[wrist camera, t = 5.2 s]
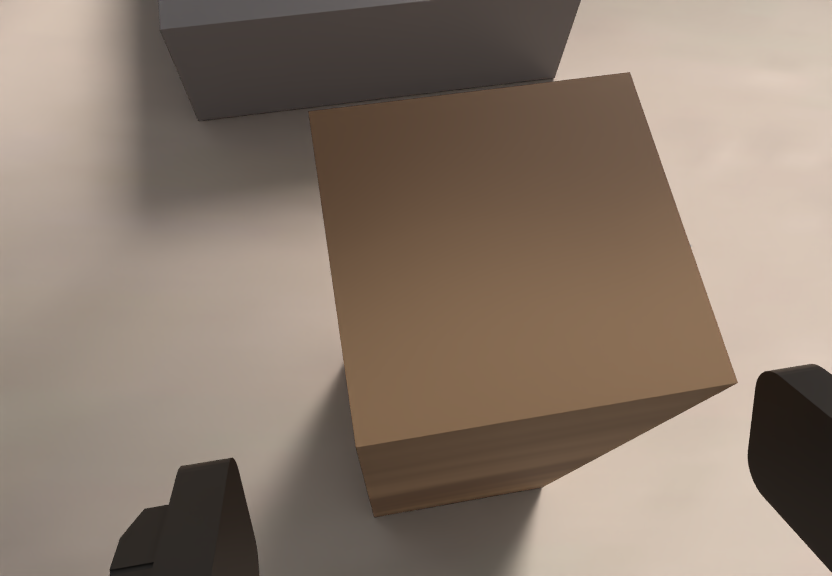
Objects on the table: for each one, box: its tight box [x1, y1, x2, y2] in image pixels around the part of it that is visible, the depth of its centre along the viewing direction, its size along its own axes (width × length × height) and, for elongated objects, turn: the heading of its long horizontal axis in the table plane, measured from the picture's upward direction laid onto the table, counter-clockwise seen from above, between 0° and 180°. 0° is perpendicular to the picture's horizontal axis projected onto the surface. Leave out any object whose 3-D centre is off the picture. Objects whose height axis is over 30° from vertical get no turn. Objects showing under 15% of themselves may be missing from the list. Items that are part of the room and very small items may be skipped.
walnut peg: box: [308, 72, 738, 517], centre depth 14 cm, size 4×4×11 cm
